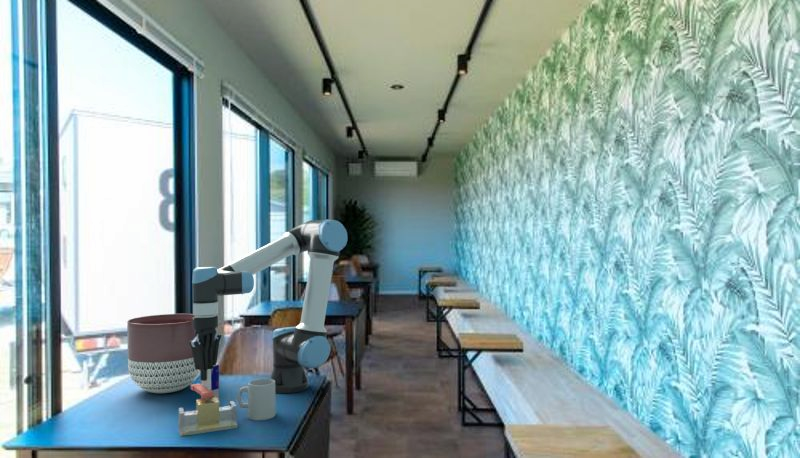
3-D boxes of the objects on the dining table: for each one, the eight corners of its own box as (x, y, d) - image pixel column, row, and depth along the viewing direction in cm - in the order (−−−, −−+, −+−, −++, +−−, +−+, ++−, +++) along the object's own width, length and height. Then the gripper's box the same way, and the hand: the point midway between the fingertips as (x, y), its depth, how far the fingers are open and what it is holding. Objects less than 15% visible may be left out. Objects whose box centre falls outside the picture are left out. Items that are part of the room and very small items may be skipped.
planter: (219, 387, 210) (219, 316, 211) (155, 405, 188) (155, 326, 188) (175, 378, 225) (175, 312, 225) (111, 393, 202) (112, 320, 202)
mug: (278, 411, 180) (278, 378, 181) (271, 420, 172) (272, 385, 172) (241, 412, 181) (241, 378, 181) (233, 420, 172) (233, 385, 172)
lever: (215, 399, 166) (215, 392, 166) (203, 402, 164) (203, 394, 164) (200, 389, 177) (200, 382, 177) (189, 391, 175) (189, 384, 175)
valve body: (232, 418, 174) (232, 393, 174) (237, 427, 165) (237, 401, 166) (178, 426, 167) (178, 400, 167) (180, 436, 158) (180, 408, 159)
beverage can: (213, 411, 181) (213, 365, 181) (197, 410, 182) (198, 365, 182) (222, 406, 187) (222, 362, 187) (207, 405, 188) (207, 361, 188)
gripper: (208, 312, 182) (209, 383, 182) (181, 318, 170) (182, 394, 170) (228, 313, 180) (228, 385, 179) (201, 319, 167) (202, 396, 167)
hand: (206, 389), depth 174 cm, fingers closed
